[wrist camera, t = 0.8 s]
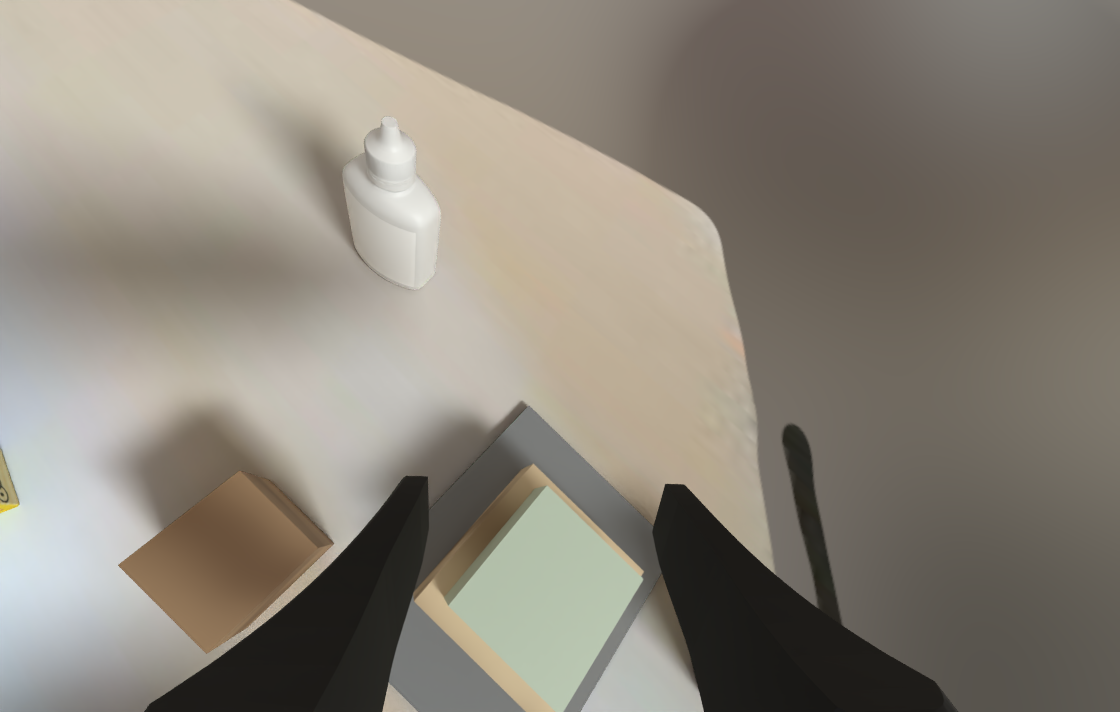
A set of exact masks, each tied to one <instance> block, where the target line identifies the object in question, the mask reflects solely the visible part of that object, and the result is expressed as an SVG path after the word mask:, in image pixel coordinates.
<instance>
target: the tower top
mask: <svg viewBox="0 0 1120 712" xmlns="http://www.w3.org/2000/svg"><path fill="white" fill-rule="evenodd" d="M642 581H643V578H642V577H641V576H640V575H639V574H638V573H637V572H636V571H635V570H634V569H633V568H632V567H631V566H630V565H628V564H627V563H626V562H625V561H624V560H623V559H622V558H621V557H620V556H619V555H618V554H617V553H616V552H615V551H614V550H613V549H612V548H611V547H610V546H609V545H608V544H607V543H606V542H605V541H604V540H603V539H602V538H601V537H600V536H599V535H598V534H597V533H596V532H595V531H594V530H593V529H592V528H591V527H589V526H588V525H587V524H586V523H585V522H584V521H583V520H582V519H581V518H580V517H579V516H578V515H577V514H576V513H575V512H574V511H573V510H572V509H571V508H570V507H569V506H568V505H567V504H566V503H565V502H564V501H563V500H562V499H561V498H560V497H559V496H558V495H557V494H556V493H555V492H554V491H553V490H552V489H550V488H549V487H548V486H547V485H546V486H543V487H539V488H535V489H534V490H533V491H532V492H531V494H530V495H529V496H528V497H527V498H526V500H525V501H524V502H523V503H522V504H521V506H520V507H519V508H518V509H517V510H516V512H515V513H514V514H513V515H512V516H511V518H510V519H509V520H508V521H507V522H506V524H505V525H504V526H503V527H502V528H501V530H500V531H499V532H498V533H497V534H496V536H495V537H494V538H493V539H492V540H491V542H490V543H489V544H488V545H487V546H486V548H485V549H484V550H483V551H482V552H481V554H480V555H479V556H478V557H477V558H476V560H475V561H474V562H473V563H472V564H471V565H470V567H469V568H468V569H467V570H466V571H465V573H464V574H463V575H462V576H461V577H460V579H459V580H458V581H457V582H456V583H455V585H454V586H453V587H452V588H451V589H450V591H449V592H448V593H447V594H446V595H445V597H444V599H445V601H446V603H447V605H448V606H449V607H450V608H451V609H452V610H453V611H454V612H455V613H456V614H457V615H458V616H459V617H460V618H461V619H462V620H463V621H464V622H465V623H466V624H467V625H468V626H469V627H470V628H471V629H472V630H473V631H474V632H475V633H476V634H477V635H478V636H479V637H480V638H481V639H482V640H483V641H484V642H485V643H486V644H487V645H488V646H489V647H490V648H491V649H492V650H493V651H494V652H495V653H496V654H497V655H498V656H500V657H501V658H502V659H503V660H504V661H505V662H506V663H507V664H508V665H509V666H510V667H511V668H512V669H513V670H514V671H515V672H516V673H517V674H518V675H519V676H520V677H521V678H522V679H523V680H524V681H525V682H526V683H527V684H528V685H529V686H530V687H531V688H532V689H533V690H534V691H535V692H536V693H537V694H538V695H539V696H540V697H541V698H542V699H543V700H544V701H545V702H546V703H547V704H548V705H549V706H550V707H551V708H552V709H553V710H554V711H555V712H564V710H565V708H566V707H567V705H568V703H569V702H570V700H571V698H572V697H573V695H574V693H575V692H576V690H577V689H578V687H579V685H580V684H581V682H582V680H583V679H584V677H585V675H586V674H587V672H588V670H589V669H590V667H591V665H592V664H593V662H594V660H595V659H596V657H597V655H598V654H599V652H600V650H601V649H602V647H603V646H604V644H605V642H606V641H607V639H608V637H609V636H610V634H611V632H612V631H613V629H614V627H615V626H616V624H617V622H618V621H619V619H620V617H621V616H622V614H623V612H624V611H625V609H626V607H627V606H628V604H629V602H630V601H631V599H632V598H633V596H634V594H635V593H636V591H637V589H638V588H639V586H640V584H641V583H642Z"/></svg>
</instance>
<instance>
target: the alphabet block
mask: <svg viewBox="0 0 1120 712" xmlns="http://www.w3.org/2000/svg"><path fill="white" fill-rule="evenodd" d="M18 505H19V502H18V499H17V496H16V493H15V490H14V487H13V484H12V481H11V478H10V475H9V473H8V470H7V467H6V464H5V461H4V458H3V455H2V451H1V449H0V513H2V512H4V511H7V510H10V509H12V508H15V507H17V506H18Z"/></svg>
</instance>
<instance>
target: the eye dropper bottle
mask: <svg viewBox="0 0 1120 712" xmlns="http://www.w3.org/2000/svg"><path fill="white" fill-rule="evenodd" d="M364 148H365V153H362V154H360V155H358V156H356V157H355V158H353V159H352V160H351V161H349V162H348V163H347V164H346V165H345V167H344V168H343V171H342V178H343V185H344V192H345V198H346V203H347V209H348V214H349V220H350V225H351V230H352V236H353V241H354V246H355V248H356V250H357V252H358V253H359V255H360V256H361V258H362V259H363V260H364V262H365V263H366V264H367V265H368V266H369V267H370V268H371V269H372V270H373V271H374V272H376V273H377V274H378V275H380V276H381V277H382V278H384V279H386V280H388V281H389V282H391V283H393V284H396V285H398V286H401V287H404V288H407V289H411V290H418V289H420V288H421V287H423V286H424V285H425V284H426V283H427V282H428V281H429V280H430V279H431V278H432V276H433V275H434V273H435V269H436V261H437V252H438V243H439V233H440V222H441V211H440V206H439V204H438V202H437V200H436V198H435V196H434V195H433V193H432V192H431V190H430V189H429V187H428V186H427V185H426V184H425V182H424V181H423V180H422V179H421V178H420V177H419V176H418V175H417V174H416V146H415V144H414V142H413V140H412V139H411V138H410V137H409V136H408V135H407V134H406V133H404V132H402V131H401V130H399V126H398V122H397V120H396V119H395V118H393V117H390V116H386V117H383V118H382V121H381V126H380V128H376V129H374V130H372V131H370V132H369V133H368V134H367V136H366V137H365V140H364Z"/></svg>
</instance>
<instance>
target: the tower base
mask: <svg viewBox="0 0 1120 712" xmlns="http://www.w3.org/2000/svg"><path fill="white" fill-rule="evenodd" d="M546 485H547V486H548V487H549V488H550V489H552V490H553V491H554V492H555V493H556V494H557V495H558V496H559V497H560V498H561V499H562V500H563V501H564V502H565V503H566V504H567V505H568V506H569V507H570V508H571V509H572V510H573V511H574V512H575V513H576V514H577V515H578V516H579V517H580V518H581V519H582V520H583V521H584V522H585V523H586V524H587V525H588V526H589V527H591V528H592V529H593V530H594V531H595V532H596V533H597V534H598V535H599V536H600V537H601V538H602V539H603V540H604V541H605V542H606V543H607V544H608V545H609V546H610V547H611V548H612V549H613V550H614V551H615V552H616V553H617V554H618V555H619V556H620V557H621V558H622V559H623V560H624V561H625V562H626V563H627V564H628V565H630V566H631V567H632V568H633V569H634V570H635V571H636V572H637V573H638V574H639V575H640V576H642V574H643V572H644V571H643V570H642V569H641V568H640V567H639V566H638V565H637V564H636V563H635V562H634V561H633V560H632V559H631V558H630V557H629V556H628V555H627V554H626V553H625V552H624V551H623V550H622V549H621V548H620V547H618V546H617V545H616V544H615V543H614V542H613V541H612V540H611V539H610V538H609V537H608V536H607V535H606V534H605V533H604V532H603V531H602V530H601V529H600V528H599V527H598V526H597V525H596V524H595V523H594V522H593V521H592V520H591V519H590V518H589V517H588V516H587V515H586V514H585V513H584V512H583V511H582V510H580V509H579V508H578V507H577V506H576V505H575V504H574V503H573V502H572V501H571V500H570V499H569V498H568V497H567V496H566V495H565V494H564V493H563V492H562V491H561V490H560V489H559V488H558V487H557V486H556V485H555V484H554V483H553V482H552V481H551V480H550V479H549V478H548V477H547V476H546V475H545V474H544V473H543V472H541V471H540V470H539V469H538V468H537V467H536V466H535V465H534V464H532V465H529V466H527V467H525V468H523V469H521V470H520V471H519V473H518V474H517V475H516V476H515V477H514V478H513V479H512V481H511V482H510V483H509V484H508V485H507V486H506V487H505V488H504V490H503V491H502V492H501V493H500V494H499V495H498V496H497V498H496V499H495V500H494V501H493V502H492V503H491V504H490V506H489V507H488V508H487V509H486V510H485V511H484V512H483V514H482V515H481V516H480V517H479V518H478V519H477V520H476V522H475V523H474V524H473V525H472V526H471V527H470V528H469V530H468V531H467V532H466V533H465V534H464V535H463V536H462V537H461V539H460V540H459V541H458V542H457V543H456V544H455V545H454V547H453V548H452V549H451V550H450V551H449V552H448V553H447V555H446V556H445V557H444V558H443V559H442V560H441V561H440V563H439V564H438V565H437V566H436V567H435V568H434V569H433V571H432V572H431V573H430V574H429V575H428V576H427V577H426V578H425V580H424V581H423V582H422V583H421V584H420V585H419V586H418V588H417V589H416V590H415V591H414V593H413V597H414V602H415V603H416V604H417V605H418V606H419V607H420V608H421V609H422V610H423V611H424V612H425V613H426V614H427V615H428V616H429V617H430V618H431V619H432V620H433V621H434V622H435V623H436V624H437V625H438V626H439V627H440V628H441V629H442V630H443V631H444V632H445V633H446V634H448V635H449V636H450V637H451V638H452V639H453V640H454V641H455V642H456V643H457V644H458V645H459V646H460V647H461V648H462V649H463V650H464V651H465V652H466V653H467V654H468V655H469V656H470V657H471V658H472V659H473V660H474V661H475V662H476V663H477V664H478V665H479V666H480V667H481V668H482V669H483V670H484V671H485V672H486V673H487V674H488V675H489V676H490V677H491V678H492V679H493V680H494V681H495V682H496V683H497V684H498V685H499V686H500V687H501V688H502V689H503V690H504V691H505V692H506V693H507V694H508V695H509V696H510V697H511V698H512V699H513V700H514V701H515V702H516V703H517V704H518V705H519V706H520V707H522V708H523V709H524V710H525V711H526V712H555V711H554V710H553V709H552V708H551V707H550V706H549V705H548V704H547V703H546V702H545V701H544V700H543V699H542V698H541V697H540V696H539V695H538V694H537V693H536V692H535V691H534V690H533V689H532V688H531V687H530V686H529V685H528V684H527V683H526V682H525V681H524V680H523V679H522V678H521V677H520V676H519V675H518V674H517V673H516V672H515V671H514V670H513V669H512V668H511V667H510V666H509V665H508V664H507V663H506V662H505V661H504V660H503V659H502V658H501V657H500V656H498V655H497V654H496V653H495V652H494V651H493V650H492V649H491V648H490V647H489V646H488V645H487V644H486V643H485V642H484V641H483V640H482V639H481V638H480V637H479V636H478V635H477V634H476V633H475V632H474V631H473V630H472V629H471V628H470V627H469V626H468V625H467V624H466V623H465V622H464V621H463V620H462V619H461V618H460V617H459V616H458V615H457V614H456V613H455V612H454V611H453V610H452V609H451V608H450V607H449V606H448V605H447V603H446V601H445V599H444V597H445V595H446V594H447V593H448V592H449V591H450V589H451V588H452V587H453V586H454V585H455V583H456V582H457V581H458V580H459V579H460V577H461V576H462V575H463V574H464V573H465V571H466V570H467V569H468V568H469V567H470V565H471V564H472V563H473V562H474V561H475V560H476V558H477V557H478V556H479V555H480V554H481V552H482V551H483V550H484V549H485V548H486V546H487V545H488V544H489V543H490V542H491V540H492V539H493V538H494V537H495V536H496V534H497V533H498V532H499V531H500V530H501V528H502V527H503V526H504V525H505V524H506V522H507V521H508V520H509V519H510V518H511V516H512V515H513V514H514V513H515V512H516V510H517V509H518V508H519V507H520V506H521V504H522V503H523V502H524V501H525V500H526V498H527V497H528V496H529V495H530V494H531V492H532V491H533V490H534V489H535V488H539V487H543V486H546Z"/></svg>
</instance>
